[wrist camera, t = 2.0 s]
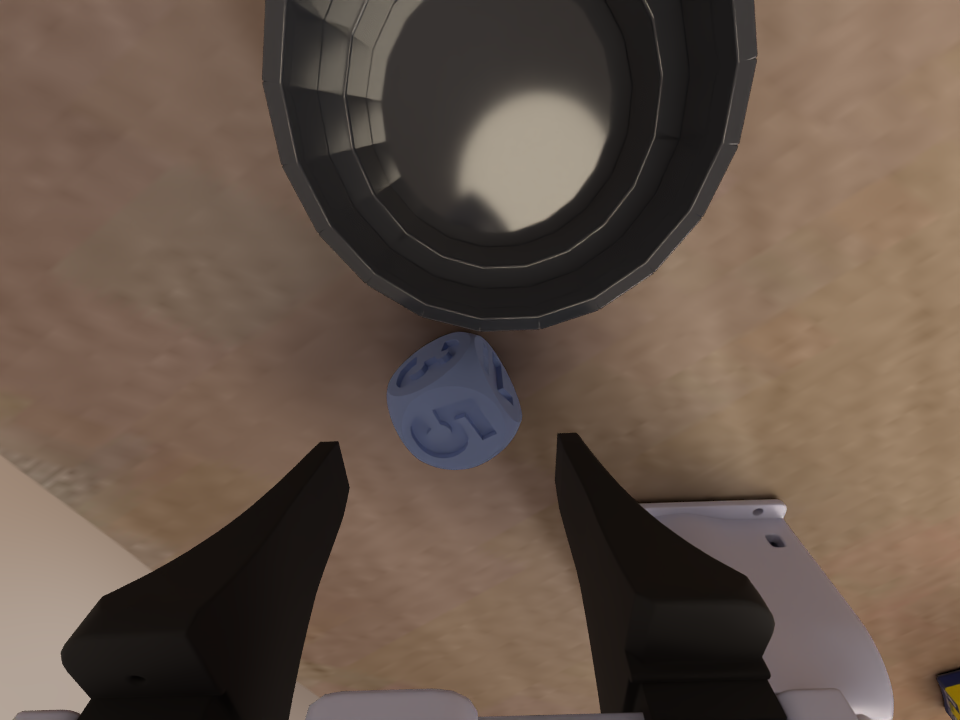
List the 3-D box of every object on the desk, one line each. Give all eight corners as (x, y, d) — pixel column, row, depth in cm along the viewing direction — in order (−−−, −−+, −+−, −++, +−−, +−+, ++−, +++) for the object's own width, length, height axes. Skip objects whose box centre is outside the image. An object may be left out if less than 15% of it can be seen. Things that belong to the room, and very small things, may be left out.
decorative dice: (519, 388, 20) (527, 445, 17) (444, 424, 21) (437, 486, 18) (473, 317, 18) (472, 364, 15) (394, 360, 19) (375, 414, 16)
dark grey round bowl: (691, -118, 12) (828, -270, 8) (640, 267, 18) (701, 324, 13) (300, -97, 13) (187, -233, 8) (363, 278, 18) (320, 338, 13)
